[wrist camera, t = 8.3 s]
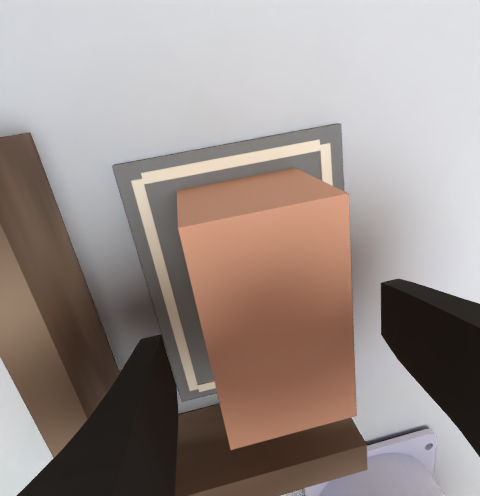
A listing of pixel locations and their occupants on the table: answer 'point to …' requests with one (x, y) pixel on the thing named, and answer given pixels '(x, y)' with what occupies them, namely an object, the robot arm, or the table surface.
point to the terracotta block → (273, 300)
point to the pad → (168, 238)
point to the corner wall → (102, 361)
